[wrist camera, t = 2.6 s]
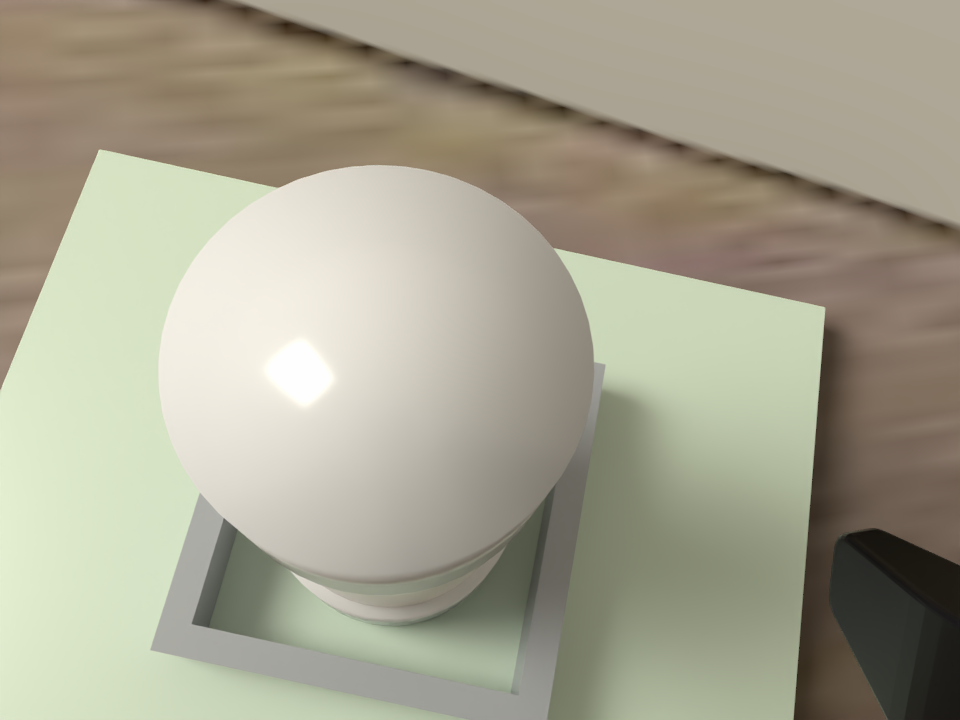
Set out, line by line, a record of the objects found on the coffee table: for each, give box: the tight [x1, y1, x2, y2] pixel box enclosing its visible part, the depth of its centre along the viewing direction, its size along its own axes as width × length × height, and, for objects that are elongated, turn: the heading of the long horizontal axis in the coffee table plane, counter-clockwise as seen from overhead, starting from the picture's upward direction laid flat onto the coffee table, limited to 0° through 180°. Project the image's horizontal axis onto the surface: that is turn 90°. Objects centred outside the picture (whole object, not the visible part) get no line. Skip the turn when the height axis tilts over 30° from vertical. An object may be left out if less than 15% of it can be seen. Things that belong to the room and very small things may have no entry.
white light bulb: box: [158, 165, 594, 626], centre depth 15 cm, size 5×5×10 cm
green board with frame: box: [0, 149, 825, 720], centre depth 19 cm, size 18×14×2 cm
